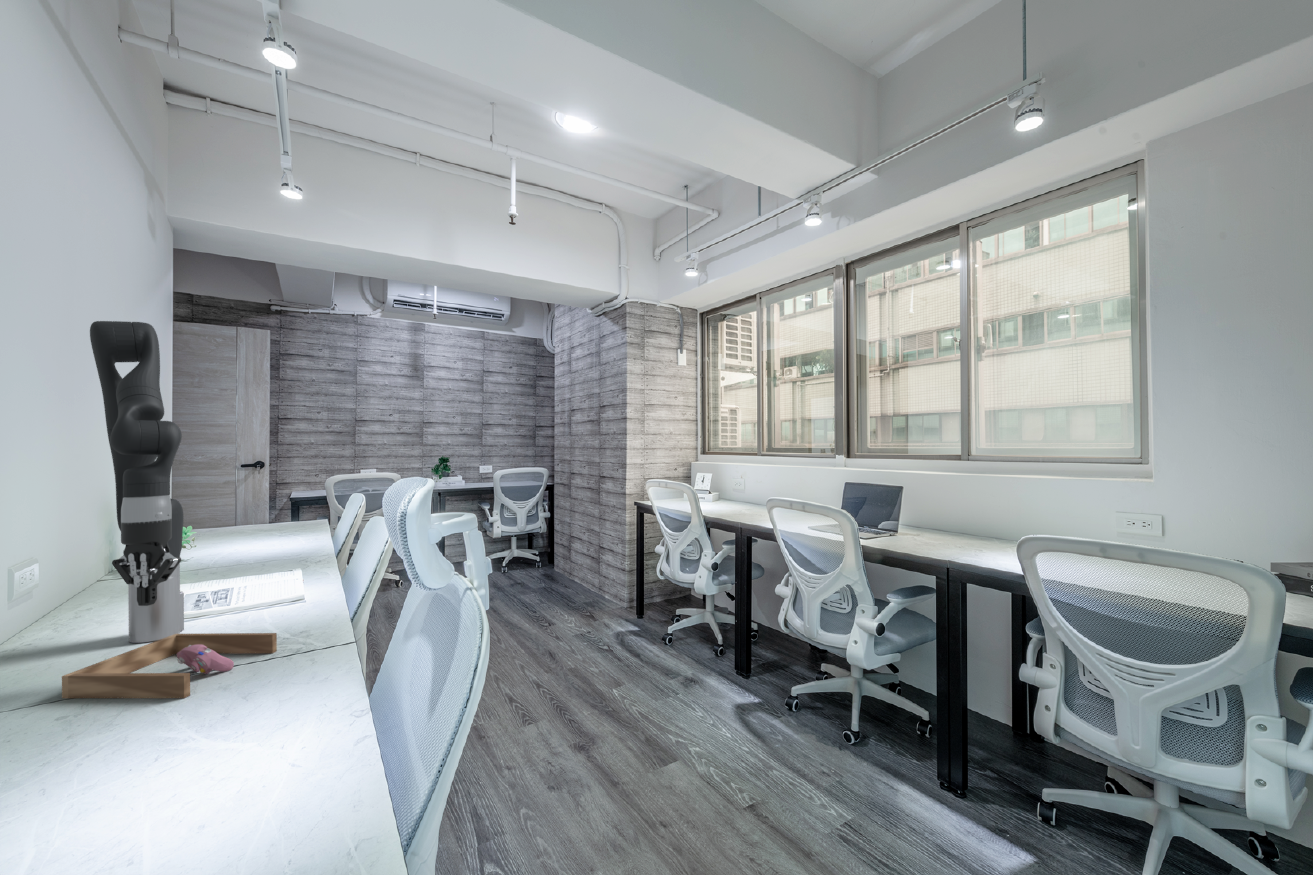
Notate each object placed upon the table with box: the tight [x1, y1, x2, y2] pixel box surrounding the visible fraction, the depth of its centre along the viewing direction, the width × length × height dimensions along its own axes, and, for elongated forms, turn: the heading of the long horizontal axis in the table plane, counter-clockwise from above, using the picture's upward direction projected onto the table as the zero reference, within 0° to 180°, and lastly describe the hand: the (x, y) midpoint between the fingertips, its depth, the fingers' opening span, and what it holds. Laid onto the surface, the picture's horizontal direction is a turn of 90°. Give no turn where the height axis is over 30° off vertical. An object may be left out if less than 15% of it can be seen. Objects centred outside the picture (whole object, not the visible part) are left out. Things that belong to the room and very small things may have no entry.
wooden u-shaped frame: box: [61, 632, 278, 699], centre depth 110 cm, size 22×23×4 cm
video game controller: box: [176, 644, 235, 675], centre depth 110 cm, size 10×5×7 cm, turn 68°
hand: (146, 604), depth 110 cm, fingers closed
